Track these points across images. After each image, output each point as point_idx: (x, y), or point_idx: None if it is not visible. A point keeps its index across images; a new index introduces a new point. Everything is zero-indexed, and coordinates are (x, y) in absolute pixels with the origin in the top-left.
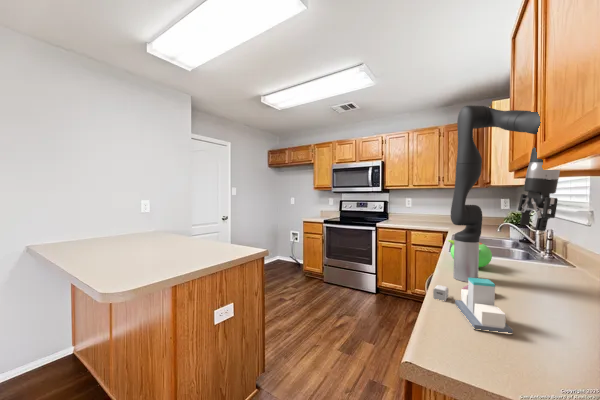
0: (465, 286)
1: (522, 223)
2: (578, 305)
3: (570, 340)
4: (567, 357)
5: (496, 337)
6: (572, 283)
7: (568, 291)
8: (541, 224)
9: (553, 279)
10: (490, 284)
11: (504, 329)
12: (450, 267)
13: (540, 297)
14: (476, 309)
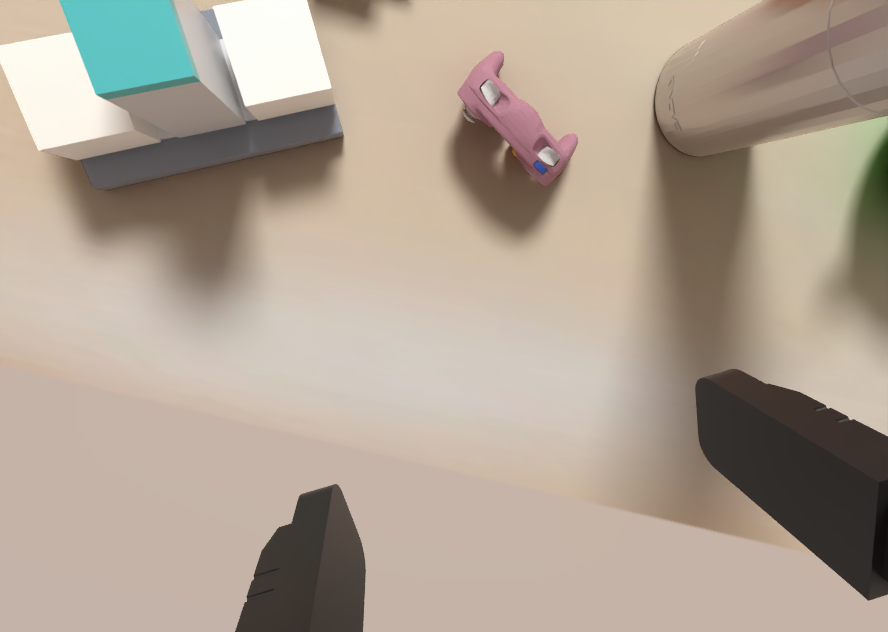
0: (492, 58)
1: (709, 396)
2: (559, 458)
3: (198, 360)
4: (43, 319)
5: None
6: None
7: (702, 464)
8: (251, 600)
9: None
10: (87, 69)
11: (81, 159)
12: None
13: (586, 362)
14: None
